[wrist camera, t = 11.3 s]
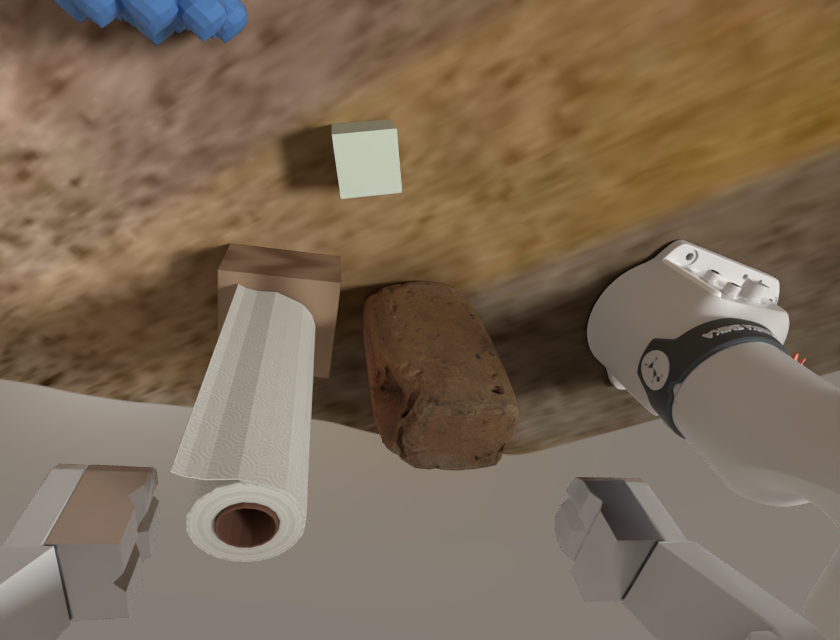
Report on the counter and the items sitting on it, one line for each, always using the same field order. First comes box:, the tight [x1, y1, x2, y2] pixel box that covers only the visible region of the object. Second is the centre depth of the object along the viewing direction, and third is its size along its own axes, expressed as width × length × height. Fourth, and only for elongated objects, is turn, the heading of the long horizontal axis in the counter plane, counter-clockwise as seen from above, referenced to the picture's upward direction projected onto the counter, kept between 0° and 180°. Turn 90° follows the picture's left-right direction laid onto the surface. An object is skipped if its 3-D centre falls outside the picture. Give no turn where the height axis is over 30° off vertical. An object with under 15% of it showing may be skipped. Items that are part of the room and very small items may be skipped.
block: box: [362, 281, 520, 470], centre depth 44 cm, size 11×8×20 cm
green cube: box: [332, 119, 402, 199], centre depth 43 cm, size 5×5×5 cm
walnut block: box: [217, 243, 341, 378], centre depth 48 cm, size 10×10×6 cm
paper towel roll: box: [170, 284, 315, 562], centre depth 35 cm, size 7×6×21 cm
